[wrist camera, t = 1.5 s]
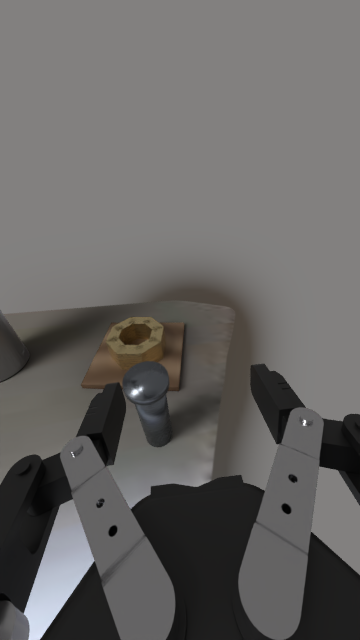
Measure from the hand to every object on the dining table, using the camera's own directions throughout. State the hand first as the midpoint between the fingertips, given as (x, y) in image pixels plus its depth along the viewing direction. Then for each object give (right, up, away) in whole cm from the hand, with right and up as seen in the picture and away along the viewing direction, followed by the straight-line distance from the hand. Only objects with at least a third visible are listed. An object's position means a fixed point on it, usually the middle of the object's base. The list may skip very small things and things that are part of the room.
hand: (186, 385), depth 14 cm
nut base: (-8, -2, +29) cm, 30 cm away
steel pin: (-3, -12, +17) cm, 21 cm away
